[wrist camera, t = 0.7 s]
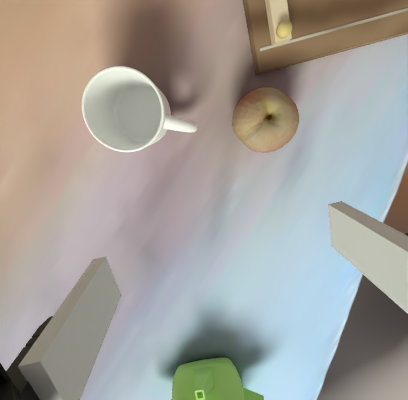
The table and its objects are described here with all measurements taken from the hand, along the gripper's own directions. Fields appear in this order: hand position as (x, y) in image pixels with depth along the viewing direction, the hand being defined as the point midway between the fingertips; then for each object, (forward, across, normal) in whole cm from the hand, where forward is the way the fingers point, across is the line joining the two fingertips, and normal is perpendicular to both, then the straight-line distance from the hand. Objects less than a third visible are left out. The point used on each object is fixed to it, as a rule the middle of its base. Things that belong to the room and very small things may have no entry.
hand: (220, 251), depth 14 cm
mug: (+25, -5, +9) cm, 27 cm away
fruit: (+25, +9, +5) cm, 27 cm away
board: (+25, +21, +16) cm, 36 cm away
